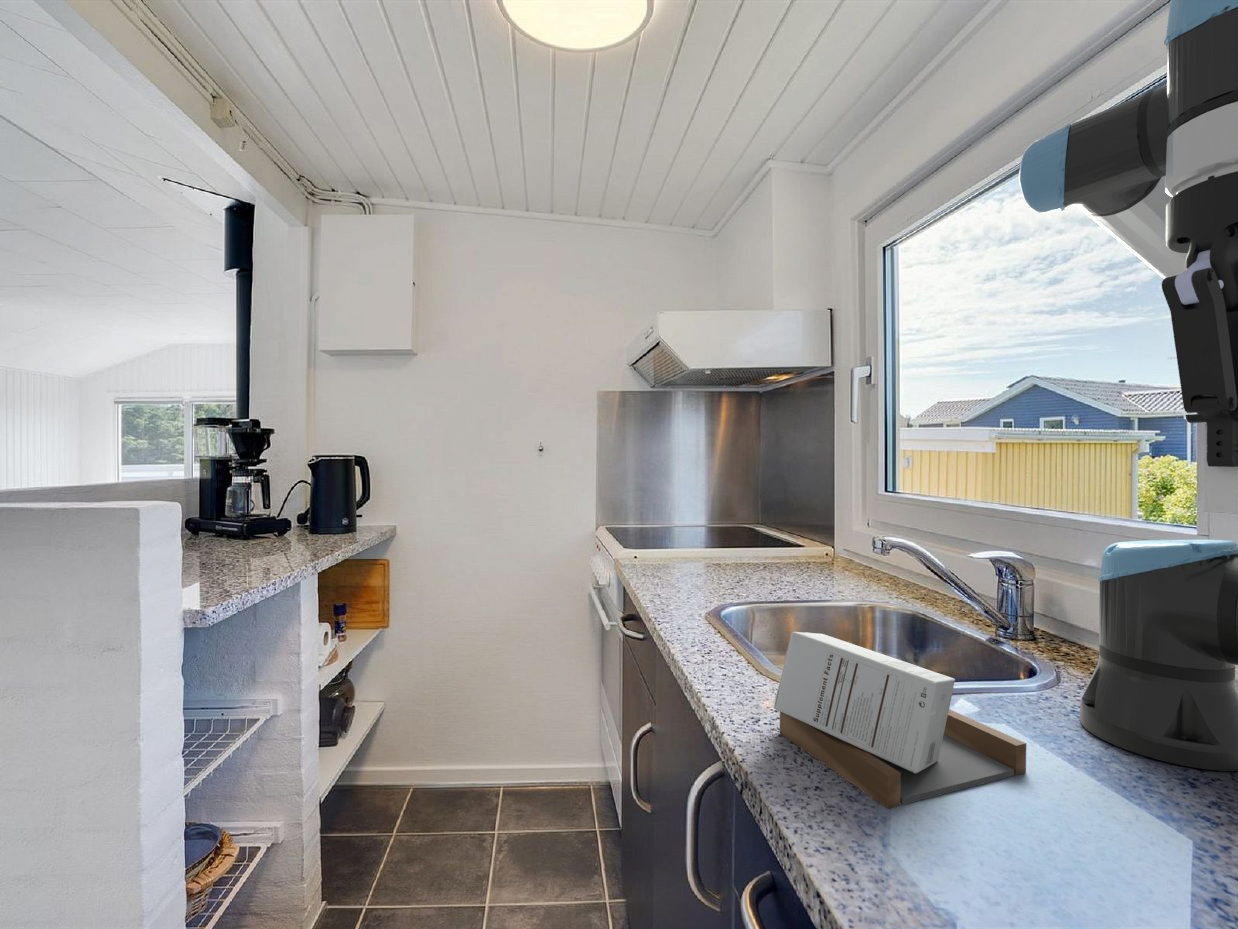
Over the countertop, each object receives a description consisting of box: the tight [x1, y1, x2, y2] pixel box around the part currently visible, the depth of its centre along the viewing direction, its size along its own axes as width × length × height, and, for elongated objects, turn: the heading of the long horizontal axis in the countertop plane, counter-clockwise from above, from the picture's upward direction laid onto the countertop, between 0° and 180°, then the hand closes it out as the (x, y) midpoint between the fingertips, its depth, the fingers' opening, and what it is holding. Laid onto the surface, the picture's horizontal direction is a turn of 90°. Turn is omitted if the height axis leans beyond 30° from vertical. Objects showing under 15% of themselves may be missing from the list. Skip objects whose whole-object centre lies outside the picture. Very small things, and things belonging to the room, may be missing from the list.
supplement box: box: [773, 631, 956, 773], centre depth 64 cm, size 9×9×15 cm
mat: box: [862, 735, 1015, 806], centre depth 65 cm, size 15×16×1 cm
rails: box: [779, 708, 1027, 809], centre depth 65 cm, size 18×16×3 cm
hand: (1233, 512), depth 43 cm, fingers closed
